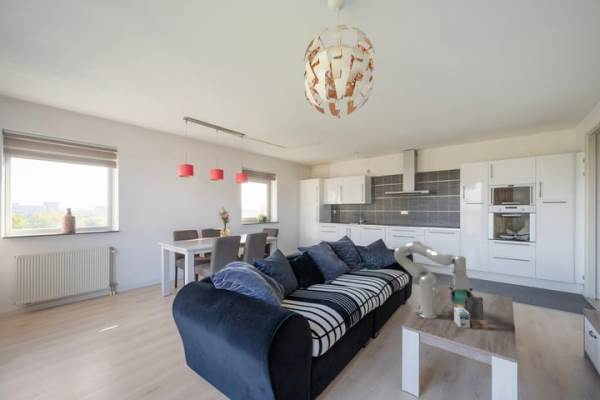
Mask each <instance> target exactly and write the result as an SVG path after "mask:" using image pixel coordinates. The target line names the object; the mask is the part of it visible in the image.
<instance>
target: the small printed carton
mask: <svg viewBox="0 0 600 400" xmlns="http://www.w3.org/2000/svg"><path fill="white" fill-rule="evenodd" d="M463 308H464V309H465V310H466V311H467V312H469V318H470V328H471V329H472V330H473V329H474V330H484V331H493V327H492V326H491V325H490V324H489V323H488V322H487V321H485V320H484V319H485V318H484V316H485V315H484V298H483V297H480V296H478V297H476V296H470V298H468V297H467V295H464V296H463Z"/></svg>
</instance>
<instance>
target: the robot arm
mask: <svg viewBox="0 0 600 400" xmlns="http://www.w3.org/2000/svg"><path fill="white" fill-rule="evenodd" d="M393 253H394V254H393V255H394V258H395V261H396V262H397V263H398V264H399V265H400V266H401V267H402V268H403V269H404V270H405V271H407V272H408V273H409V275H411V276H412V277H414V278H418V277H419V280H418V284H419V292H420V293H419V294H420V295H419V298H420V299H419V301H420V308H419V309H417V308H415V309H414V310H413V311H414V312H415V313H418V316H420V317H421V318H425V319H429V320H430V319H433V320H434V319H436V318H437V314H436V313H435V301H434V300H435V299H434V298H435V296H434V294H435V293H434V287H433V286H434V285H435V284H436V283H437V277H436V276H435V275H434V274H433V272H431V271H430V270H429V269H428V268H427V267H426V266H424V265H422V264H421V263H416V264H415V263H414V262H413V261H412V260H411V259H409V258H408V257H406V256H409V255H411V254H414V253H415V254H418V255H420V256H423V257H425V258H427V259H429V260H431V262H434V263H436V264H439V265H441V266H444V267H448V266H451V265H453V270H452V271H451V273H452V274H453V275H452V279H451V282H449V283H447V287H448V288H449V290H451V295H452V297H454V298H456V290H461V291H464V290H465V291H466V296H467V297H468V298H470V297H471V293H472V291H473V290H474V288H475V286H474V285H473V284H471V283H470V280H469V276H468V275H467V265H466V264H467V263H466V262H467V260H466V257H465V256H462V255H454V254H445V255H444V254H442V253H439V252H436V251H435V250H434V249H433V248H432V247H430V246H428V245H424V244H423V243H422V242H421V241H419V240H415V241H414V240H413V241H411V242H409V243H407V244H405V245H401V246H399V247H396V248H395V250H394V252H393Z"/></svg>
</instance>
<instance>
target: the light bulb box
mask: <svg viewBox="0 0 600 400" xmlns="http://www.w3.org/2000/svg"><path fill="white" fill-rule="evenodd" d="M453 320H454V321H453V322H454V323H455V324H456V325H457V326H458V327H459V328H463V329H464V328H465V329H470V328H471V326H470V318H469V312H467V311H466V310H465V309H464V307H459V306H454V307H453Z"/></svg>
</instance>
